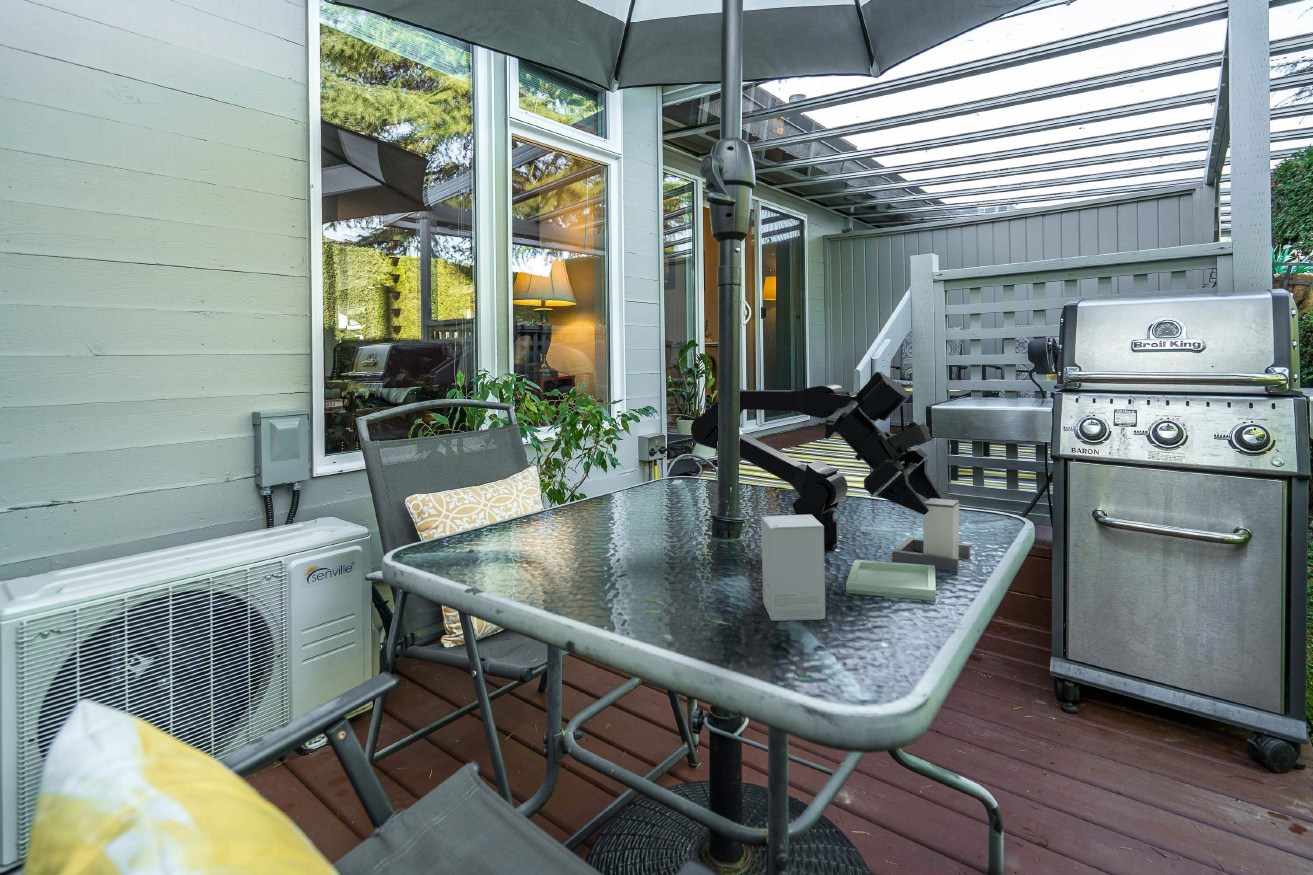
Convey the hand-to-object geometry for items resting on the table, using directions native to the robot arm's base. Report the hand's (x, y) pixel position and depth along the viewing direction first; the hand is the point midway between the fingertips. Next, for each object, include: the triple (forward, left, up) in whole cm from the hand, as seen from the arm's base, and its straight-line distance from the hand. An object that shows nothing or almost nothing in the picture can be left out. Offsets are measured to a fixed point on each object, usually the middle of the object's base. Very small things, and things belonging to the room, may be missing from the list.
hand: (933, 507), depth 109 cm
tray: (-6, -14, -9) cm, 18 cm away
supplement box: (-18, -29, -9) cm, 35 cm away
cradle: (0, 0, -9) cm, 9 cm away
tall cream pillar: (+1, 0, -9) cm, 9 cm away
